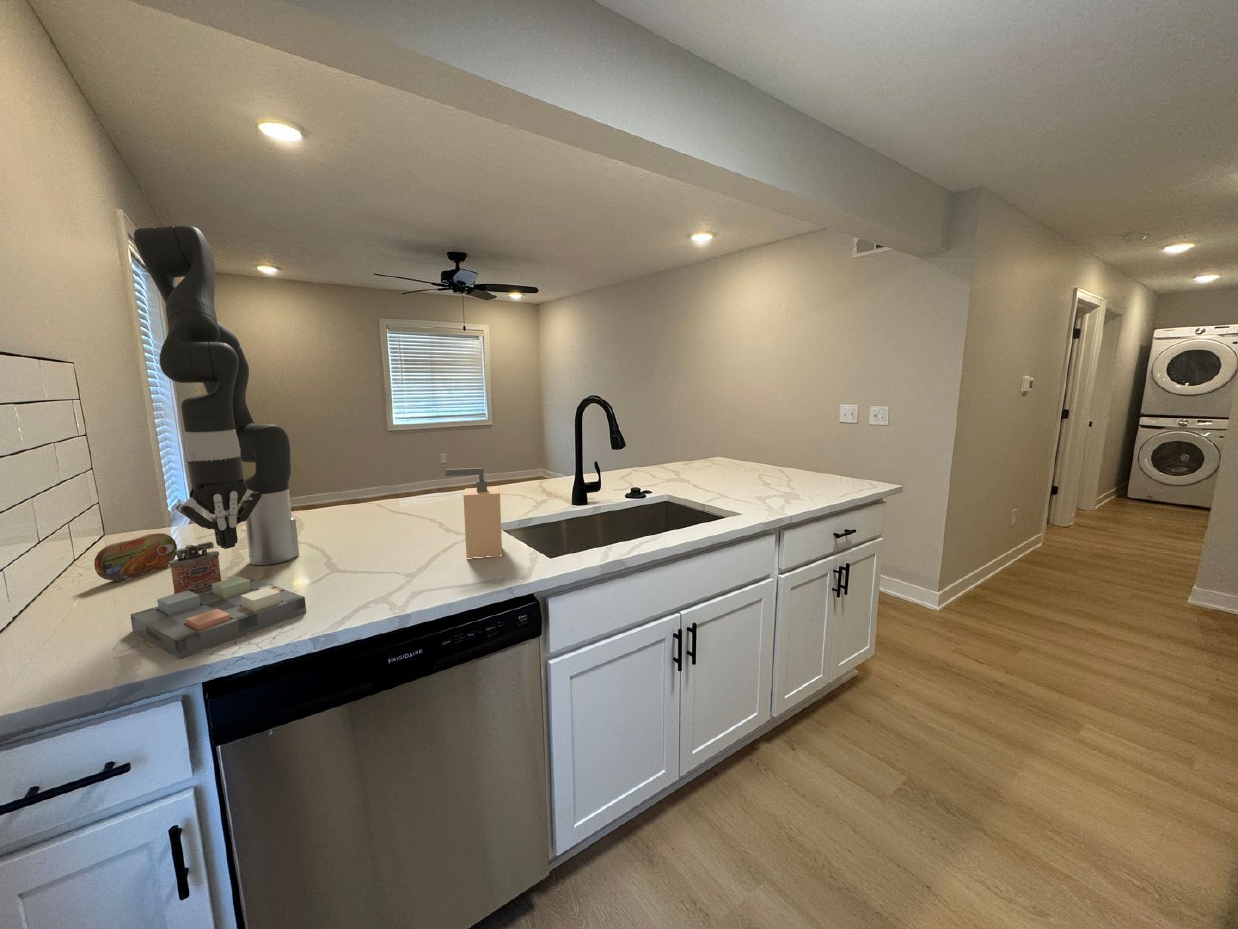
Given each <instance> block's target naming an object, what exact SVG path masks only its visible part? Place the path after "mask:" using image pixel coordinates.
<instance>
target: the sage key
mask: <svg viewBox="0 0 1238 929" xmlns="http://www.w3.org/2000/svg"><path fill="white" fill-rule="evenodd" d="M212 591H213V595H214V596H216V597H219V598H221V599H225V598H228V597H231V596H235V595H238V594H241V593H244V592H248V591H251V588H250V579H247V578H244V577H241V576H234V577H230V578H228V579H227V578H226V579H224V580H221V581H220V582H216V583H212Z"/></svg>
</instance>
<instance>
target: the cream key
mask: <svg viewBox="0 0 1238 929" xmlns="http://www.w3.org/2000/svg"><path fill="white" fill-rule="evenodd" d="M241 603H242V608H244V609H247V610H249V611H251V612H255V611H258V610H261V609H264V608H267V607H270V606H273V605H275V604H278V603H281V594H280V592H279V591H277V590H274V589H271V588H269V587H266V588H263V589H260V590H257V591H253V592H250V593H247V594H244V595H241Z"/></svg>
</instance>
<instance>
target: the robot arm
mask: <svg viewBox="0 0 1238 929" xmlns="http://www.w3.org/2000/svg"><path fill="white" fill-rule="evenodd" d="M133 240H134V243H135V247H136V250H137V252H138V253H139V256H140V258H141V260H142V262H143V264H144V266H145V268H146V270H147V272H148V273H149V275H150V277H151V278H152V280H153V282H154V284H155V286H156V288H157V290H158V291H159V293H160V295H161V296H162V299H163V300H164V303H165V304H166V305H165V312H166V318H167V326H168V332H167V336H166V338H165V340H164V341H163V344H162V346H161V348H160V349H161V350H160V352H159V360H158V361H159V366H160V370H161V371H162V373H163V374H164V375H165V376H166V377H167V378H168V379H170V380H171V381H173V382H176V383H182V384H188V383H189V384H190V383H191V384H193V383H195V384H196V383H198V384H199V383H200V384H201V383H202V384H203V386H204V388H205V390H206V393H207V394H204V395H196V396H192V397H188V398H185V399H184V400H182V402H181V406H180V407H181V414H182V422H183V428H184V431H185V432H184V436H185V440H184V443H185V444H184V446H185V453H186V459H187V466H188V473H189V478H190V483H191V489H190V490H191V491H190V492H189V498H188V499H187V500H186V501H185V502H184V503H183V504H178V505H177V506H176V508H175V509H176V511H177V512H179V513H180V514H182V515H183V516H184V517H186V518H188V519H189V520H190V521H192V522H193V523H195V524H196V525H197V526H199V527H201V528H203V529H206V530H213V531H214V536H215V543H216V546H218V547H220V548H222V549H223V550H226V549H231V548H235V547H236V544H237V543H238V541H239V539H238V533H237V527H238V525H239V524H241V523H243V522H245V529H246V530H245V531H246V537H247V538H246V539H247V540H246V541H247V548H248V558H249V563H250V565H254V566H269V565H275V564H280V563H284V562H286V561H290V560H292V559H294V558H295V557H298V556H300V549H299V547H300V546H299V541H298V540H299V539H298V530H297V529H298V528H297V519H295V517H292V507H291V499H290V498H291V497H290V489H289V486H290V485H289V482H290V478H291V474H292V469H291V468H292V467H291V465H292V464H291V445H290V440H289V436H288V434H287V432H286V431H285V429H284V428H282V427H281V426H279V425H277V424H269V423H263V424H262V423H261V424H260V423H256V422H255V421H254V420H253V418H252V415H251V413H250V410H249V408H248V405H247V401H246V399H247V398H246V394H247V388H248V382H249V377H250V369H249V368H250V366H249V363H248V360H247V358H246V356H245V352H244V351H243V348H242V346H241V343H240V341H239V339H238V338H237V336H236V335H235V334H234V333H233V332H232V331H231V330H230V329H229V328H228V327H226V326H225V325H224V324H222V323H221V322H219V321H218V318H217V314H216V310H215V291H216V290H215V288H216V264H215V262H216V261H215V258H214V253H213V251H212V248H211V246H210V244H209V242H208V240H207V238H206V237H205V235H204V234H203V232H202V231H201V230H200V229H199V228H197V227H195V226H194V225H193V226H192V225H182V224H181V225H169V226H168V225H167V226H163V225H162V226H153V227H152V226H151V227H150V226H149V227H140V228H137V229H135V230H134V232H133ZM176 278H182V279H181V281H180V282H179V283H178V282H177V280H176ZM242 462H244V463H254V464H255V472H254V474H253V475H252V476H251V477H248V478H245V479H244V468H243V463H242ZM241 501H242V502H241ZM240 503H241V504H240ZM239 504H240V506H239ZM197 505H199V506H200V507H201V508H202V509H203V510H204V511H206V513H207V516H208V517H209V519H210V520H209V519H208V518H206V517H205V516H203V515H202V514H201V513H199V512H198V510H199V507H198V506H197ZM238 506H239V507H238Z"/></svg>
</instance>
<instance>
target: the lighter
mask: <svg viewBox="0 0 1238 929" xmlns="http://www.w3.org/2000/svg"><path fill="white" fill-rule="evenodd" d="M214 547H215V546H214V542H213V541H206V542H202V543H198V544H197V545H194V544H187V545H185V547H182V548H177V550H175V551H176V557H177V558H176V559H175V558H174V560H172V561H169V565H168V566H169V567H170V571H171V577H172V584H173V591H174V592H173V594H177V593H180V592H184V591H187V590H189V591H191V592H193V593H195V594H198V595H199V594H202V593H206V592H209V591H212V583H216V582H220V581H222V576H221V567H220V559H219V557H220V552H219V551H217V550H214V551H213V550H212V551H207V550H209V549H213V548H214ZM200 552H201V553H200ZM173 594H172V595H173Z"/></svg>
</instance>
